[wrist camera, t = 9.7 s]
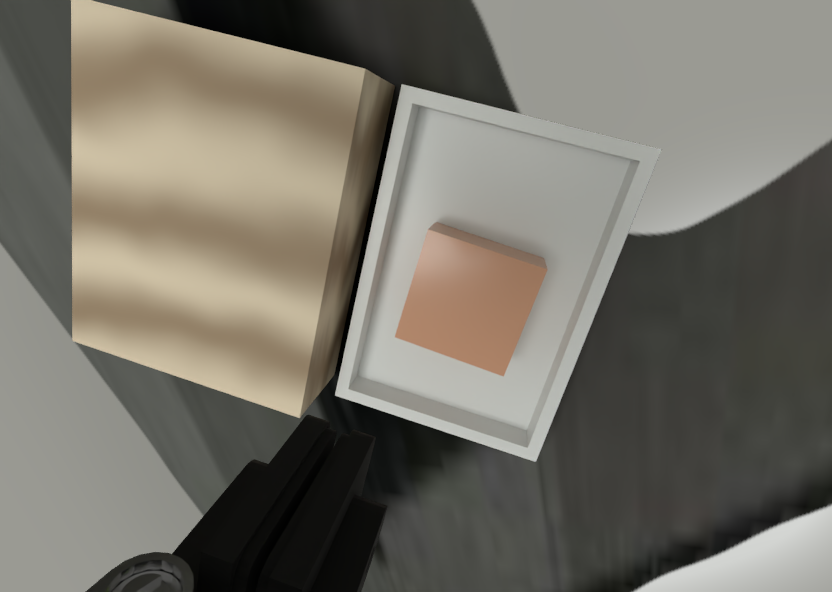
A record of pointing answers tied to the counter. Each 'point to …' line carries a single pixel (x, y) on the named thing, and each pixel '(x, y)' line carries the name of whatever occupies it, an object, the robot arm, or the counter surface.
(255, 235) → the birch board
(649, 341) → the counter surface
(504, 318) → the terracotta tile
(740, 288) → the counter surface
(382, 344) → the box
